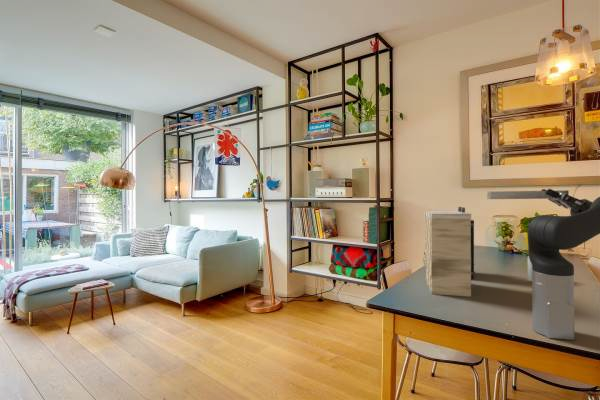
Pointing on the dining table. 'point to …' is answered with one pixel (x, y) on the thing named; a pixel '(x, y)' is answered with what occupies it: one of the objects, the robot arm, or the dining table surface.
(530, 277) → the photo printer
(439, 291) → the stand
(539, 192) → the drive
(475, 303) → the dining table surface
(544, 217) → the robot arm
